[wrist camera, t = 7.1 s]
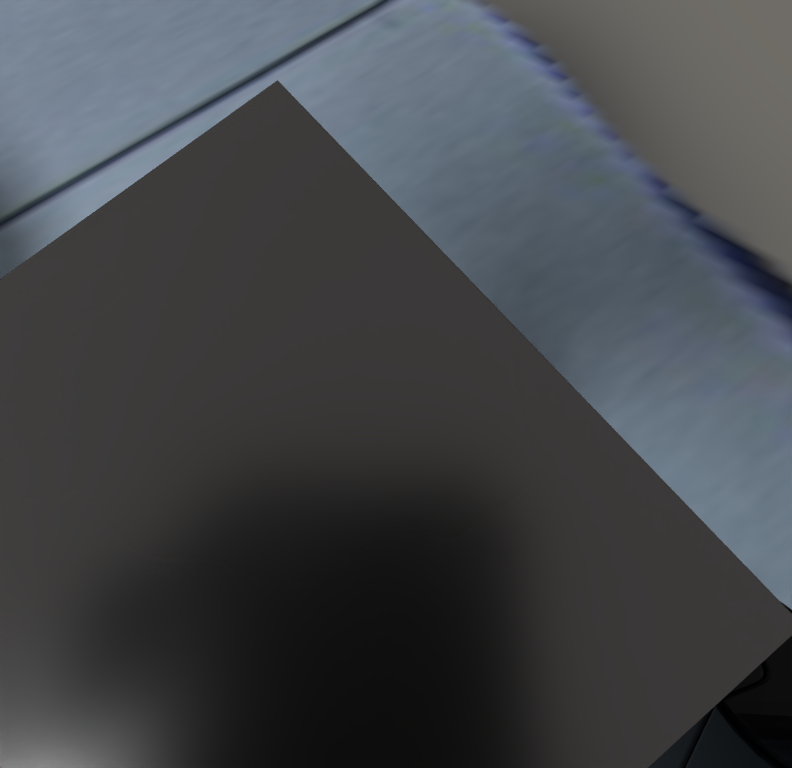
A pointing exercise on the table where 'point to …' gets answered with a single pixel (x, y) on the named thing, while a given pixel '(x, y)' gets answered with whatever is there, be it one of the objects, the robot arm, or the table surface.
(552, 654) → the charcoal square pillar
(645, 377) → the table surface
